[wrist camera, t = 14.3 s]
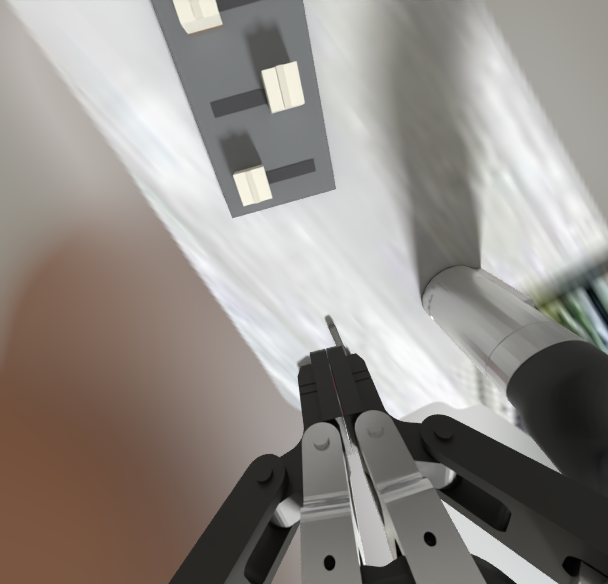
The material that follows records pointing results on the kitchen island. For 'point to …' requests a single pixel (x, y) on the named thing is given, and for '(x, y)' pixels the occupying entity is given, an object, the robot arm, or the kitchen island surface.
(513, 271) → the kitchen island surface
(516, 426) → the kitchen island surface
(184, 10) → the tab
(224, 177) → the switch panel
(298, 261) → the kitchen island surface
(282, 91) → the tab middle
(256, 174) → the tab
